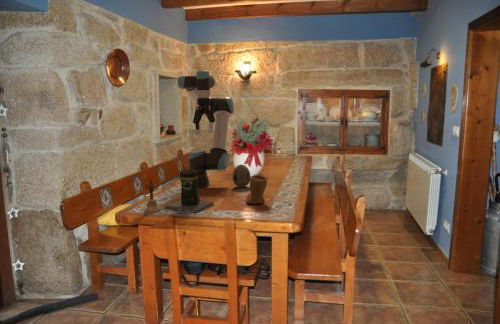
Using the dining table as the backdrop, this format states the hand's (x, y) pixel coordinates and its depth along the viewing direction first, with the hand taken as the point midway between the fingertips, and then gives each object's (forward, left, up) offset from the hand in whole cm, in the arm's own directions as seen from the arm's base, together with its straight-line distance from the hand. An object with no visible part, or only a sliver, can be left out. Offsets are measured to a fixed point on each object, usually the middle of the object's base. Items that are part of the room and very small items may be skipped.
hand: (204, 134), depth 226 cm
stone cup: (+35, -3, -37) cm, 51 cm away
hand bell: (-8, -40, -37) cm, 55 cm away
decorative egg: (+10, +26, -37) cm, 46 cm away
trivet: (+6, -26, -37) cm, 45 cm away
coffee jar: (+6, -26, -35) cm, 44 cm away
